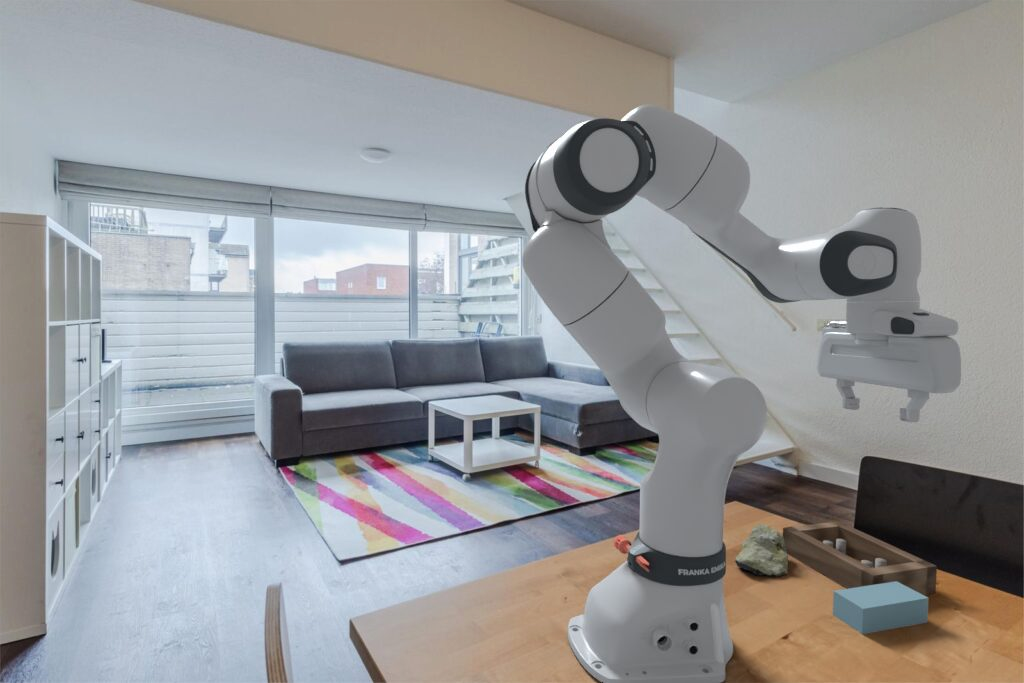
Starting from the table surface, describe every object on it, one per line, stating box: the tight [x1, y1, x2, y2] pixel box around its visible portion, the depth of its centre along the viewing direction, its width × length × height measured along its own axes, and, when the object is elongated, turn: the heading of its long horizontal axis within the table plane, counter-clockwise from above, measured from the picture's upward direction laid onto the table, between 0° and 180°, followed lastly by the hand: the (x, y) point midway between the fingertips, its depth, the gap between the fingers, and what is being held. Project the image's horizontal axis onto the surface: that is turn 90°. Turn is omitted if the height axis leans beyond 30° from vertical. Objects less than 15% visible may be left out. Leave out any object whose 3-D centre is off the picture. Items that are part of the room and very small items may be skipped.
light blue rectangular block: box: [832, 581, 930, 635], centre depth 79 cm, size 12×5×4 cm, turn 104°
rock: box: [734, 524, 789, 578], centre depth 97 cm, size 11×6×10 cm
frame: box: [782, 520, 938, 596], centre depth 94 cm, size 13×19×4 cm
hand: (878, 414), depth 79 cm, fingers open, 8 cm apart
